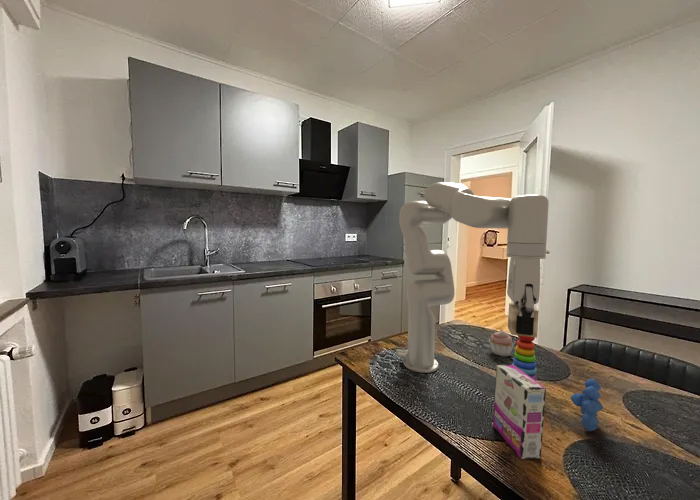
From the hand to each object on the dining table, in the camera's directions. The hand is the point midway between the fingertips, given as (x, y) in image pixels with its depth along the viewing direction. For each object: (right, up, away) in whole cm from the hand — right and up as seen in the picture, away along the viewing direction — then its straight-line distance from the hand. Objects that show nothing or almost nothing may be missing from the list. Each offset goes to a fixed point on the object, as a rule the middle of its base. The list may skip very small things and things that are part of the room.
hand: (521, 329), depth 66 cm
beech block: (0, -1, 0) cm, 1 cm away
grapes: (+22, -27, +9) cm, 36 cm away
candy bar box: (0, -28, +3) cm, 28 cm away
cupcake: (+22, -24, +51) cm, 60 cm away
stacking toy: (+17, -26, +29) cm, 42 cm away
